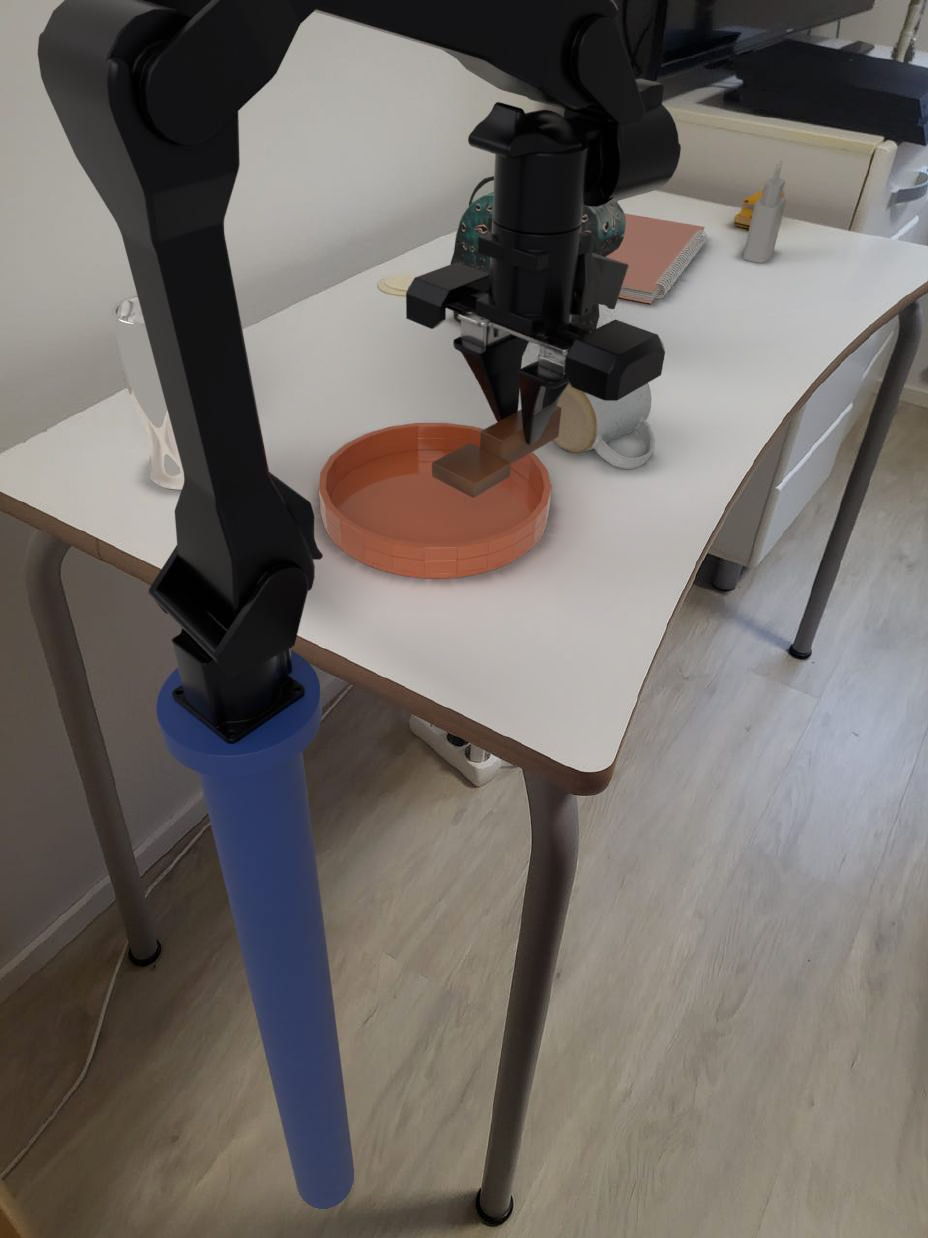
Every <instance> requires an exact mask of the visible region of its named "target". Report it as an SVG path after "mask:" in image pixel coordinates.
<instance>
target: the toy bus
mask: <svg viewBox="0 0 928 1238" xmlns="http://www.w3.org/2000/svg"><path fill="white" fill-rule="evenodd" d="M763 190H764V189H763ZM763 190H760V191H758V192H756V193H754V194H752V195H750V196H747V197H746V198H744V199H743V201H742V205H741V210H740V212H739V213H737V214H735V216H734V219H733V225H734V226H737V227H742V228H745V229H749V227H750V223H751V218H752V214H753V209H754V205H755V203H756V202H757V201H758V200H759V199H760V198H761V197H762V194H763ZM782 198H785V191H784V190H783V193H782Z"/></svg>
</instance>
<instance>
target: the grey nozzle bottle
mask: <svg viewBox="0 0 928 1238" xmlns="http://www.w3.org/2000/svg"><path fill="white" fill-rule="evenodd" d="M782 166H783V160H780V161H779V163H776V165H775V169H774V173H773V177H771V178H768V179H767V180H766V181H765V182H764V185H763V194H762V197H761V198H760V199H759V200H758V201H757V202H756V203H755V205H754V209H753V214H752V218H751V223H750V227H749V228H748V232H747V237H746V241H745V246H744V250H743V253H742V255H743V256H742V259H743V260H745V261H749V262H752V263H753V262H754V263H759V264H763V263H766V262H767V261H768V260H769V259H770V257H772V256H773V255H774V252H775V247H776V244H777V239H778V235H779V232H780V227H781V224H782V219H783V216H784V215H783V214H784V211H785V206H786V202H787V198H785V197H784V198H782V193H783V191H784V188H785V183H786V180H785V179H783V178H781V177H780V175H781V170H782Z"/></svg>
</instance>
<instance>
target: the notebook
mask: <svg viewBox="0 0 928 1238" xmlns="http://www.w3.org/2000/svg"><path fill="white" fill-rule="evenodd" d="M624 214H625V219H626V227H625V233H624V238H623V241H622V243H621V245H620V247H619V248H618V249H617V250H615V251H614V252H613V253H611V254H609V255H608V256H606V257H607V258H610V259H613V260H616V261H619V262H623V263H625V264H628V265H629V266H628V269H627V272H626V275H625V279H624V282H623V285H622V288H621V291H620V294H619V297H618V298H621V299H624V300H625V299H626V300H630V301H636V302H642V303H646V304H652V303H653V302H654V301H655V299H662V298H664V297H665V295H666V294H667V293H668V292H669V290H670V289H671V288H672V287H673V285H674V284H675V283H676V281H677V280H678V279H679V277H680V276H681V275H682V273H683V272H684V270H685V269H686V268H687V267H688V265H689V264H690V263H691V261H692V260H693V259H694V258H695V256H696V255H697V254H698V253H699V251H700V250H701V248H702V247H704V245H705V243H706V242H707V240H708V234H707V233H706V231H704V229H705V226H702V225H697V224H696V225H695V224H689V223H683V222H678V221H672V220H668V219H661V218H656V217H655V218H654V217H648V216H643V215H637V214H631V213H625V212H624Z"/></svg>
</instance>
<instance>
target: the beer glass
mask: <svg viewBox="0 0 928 1238" xmlns="http://www.w3.org/2000/svg"><path fill="white" fill-rule="evenodd" d="M110 312H111V316H112V321H113V329H114V339H115V343H116V350H117V356H118V361H119V365H120V369H121V373H122V378H123V380H124V383H125V386H126V389H127V391H128V395H129V396H130V399H131V401H132V404H133V406H134V409H135V411H136V413H137V415H138V417H139V421H140V422H141V425H142V427H143V429H144V433H145V436H146V439H147V444H148V452H149V453H148V454H149V476H150V478H151V481H152V482H153V483H154V484H156V485H157V486H159V487H162V488H164V489H168V490H175V491H176V490H178V491H182V488H183V485H184V472H183V468H182V464H181V460H180V456H179V452H178V449H177V445H176V441H175V437H174V433H173V429H172V426H171V422H170V418H169V414H168V410H167V406H166V403H165V399H164V395H163V391H162V387H161V384H160V380H159V376H158V372H157V368H156V364H155V361H154V357H153V353H152V349H151V345H150V341H149V338H148V334H147V330H146V326H145V322H144V319H143V315H142V311H141V307H140V303H139V299H138V296H137V293H136V294H132V295H130V296H129V295H128V296H127V297H124V298H122V299H120V300H118V301H117V302H115V304H114V305H113V306H112V308H111V311H110Z"/></svg>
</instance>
